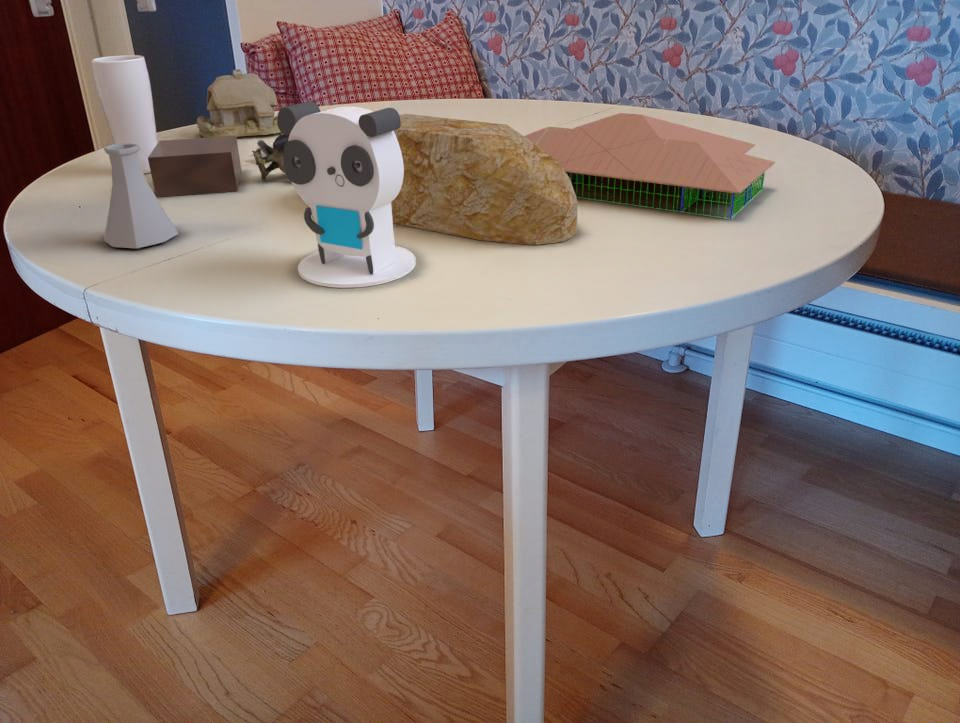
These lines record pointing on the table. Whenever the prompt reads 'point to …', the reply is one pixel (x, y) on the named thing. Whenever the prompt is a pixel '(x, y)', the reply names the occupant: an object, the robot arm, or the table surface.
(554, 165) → the brown rock
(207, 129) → the ceramic model
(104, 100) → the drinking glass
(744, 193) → the house
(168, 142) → the walnut block
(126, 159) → the flask
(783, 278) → the table surface
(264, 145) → the eagle figurine
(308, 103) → the panda figurine
